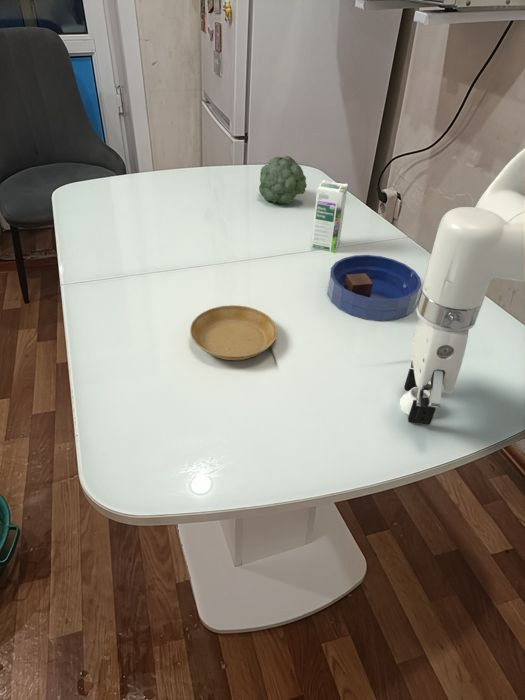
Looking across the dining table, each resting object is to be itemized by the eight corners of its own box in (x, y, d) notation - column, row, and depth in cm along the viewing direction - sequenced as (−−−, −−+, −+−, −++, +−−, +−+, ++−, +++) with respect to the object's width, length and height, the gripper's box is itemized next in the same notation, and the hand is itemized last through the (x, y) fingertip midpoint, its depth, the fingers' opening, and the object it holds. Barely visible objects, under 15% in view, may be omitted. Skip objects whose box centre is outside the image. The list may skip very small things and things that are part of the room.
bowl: (411, 281, 107) (416, 259, 104) (419, 328, 93) (425, 305, 90) (329, 272, 108) (332, 251, 105) (325, 317, 95) (328, 294, 92)
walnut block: (362, 290, 102) (365, 273, 99) (369, 301, 99) (373, 283, 96) (343, 292, 101) (346, 274, 99) (349, 303, 98) (353, 285, 96)
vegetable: (323, 190, 139) (304, 180, 126) (286, 218, 145) (265, 212, 131) (300, 154, 141) (279, 141, 127) (265, 183, 146) (241, 174, 133)
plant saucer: (263, 312, 95) (264, 301, 94) (287, 362, 84) (288, 349, 83) (184, 322, 92) (184, 309, 90) (198, 374, 81) (197, 361, 79)
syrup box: (309, 250, 116) (316, 187, 107) (316, 239, 120) (323, 178, 111) (334, 255, 115) (343, 192, 106) (339, 244, 119) (348, 182, 110)
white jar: (404, 392, 80) (395, 412, 76) (408, 378, 78) (399, 397, 74) (436, 403, 78) (428, 424, 74) (441, 389, 76) (433, 410, 73)
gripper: (492, 350, 59) (450, 453, 70) (466, 275, 72) (434, 372, 83) (426, 342, 59) (394, 446, 70) (412, 270, 73) (388, 366, 84)
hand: (416, 405), depth 77 cm, fingers open, 6 cm apart
